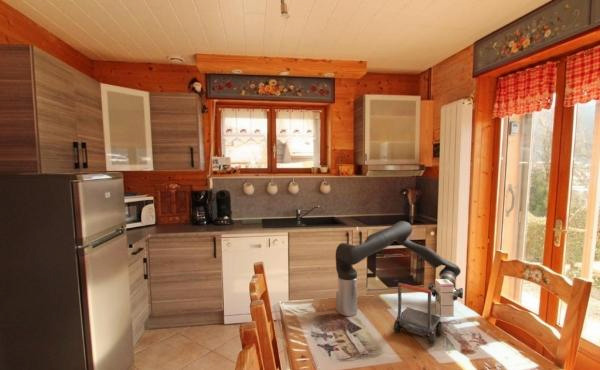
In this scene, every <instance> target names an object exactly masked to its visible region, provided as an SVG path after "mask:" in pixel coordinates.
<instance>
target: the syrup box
mask: <svg viewBox="0 0 600 370" xmlns="http://www.w3.org/2000/svg"><path fill="white" fill-rule="evenodd" d="M434 285H435V297H434V298H435V299H434V301H435V309H434V310H435V312H436V313H437V314H438V315H439V317H440V318H441V317H442V318H444V317H446V318H450V317H451V318H452V317H455V312H454V311H455V310H454V309H455V302H454V300H453V298H454V284H453V283H452V282H450V281H449V280H448V279H439V278H438V279H436V278H435V284H434Z"/></svg>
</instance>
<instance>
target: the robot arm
mask: <svg viewBox="0 0 600 370" xmlns="http://www.w3.org/2000/svg"><path fill="white" fill-rule="evenodd" d="M412 232H413V226H412V225H411V223H409V222H408V221H406V220H405V221H404V220H400V221H397V222H396V223H394V224H392V225H391V226H388V227H386V228H384V229H381V230H379V231H376V232H373V233H371V234H370V235H368V236H367V237H366V239H365V240H364V242H363V243H360V244H357V245H353V244H349V243H345V242H342V243H339V244H338V245H337V247H336V250H335V270H336V272H337V291H336V292H335V295H336V301H335V303H336V304H335V305H336V306H335V311H336V312H338V314H340V315H342V316H344V317H345V316H347V317H353V316H355V315H357V313H358V272H357V270H356V269H355V268H354V267H353V266H354V265H357V264H359V263H361V262H362V261H363V260H365V259H366V258H367V257H368V258H369V256H372V255H374V254H376V253H378V252H380V251H383V250H385V249H386V248H388V247H389V246H391V244H393V243H394V242H397V243H398V244H400V245H401V246H403V247H405V248H406V249H407V250H409V251H411V252H413V253H414V254H416V255H417V256H419V257H420V258H421V259H423V260H424V262H426V263H427V264H428V265H429V266H431V268H433V269H437V268H438V267H441V266H444V267H443V268H442V269H441V270H440V271H439V273H438V275H439V278H438V279H448V280H449V281H450V282H452V283H453V284H454V298H453V300H454V301H455V302H456V301H458V298H459V299H463V297H464V288H463V287H460V288H457V277H458V276H460V274H461V268H460V267H459V266H458V265H457V264H456V263H454V262H451V261H449V260H447V259H445V258H444V257H442V256H440V254H438V253H437V252H436V251H434V250H433V249H432V248H430V247H428V246H425V245H422V244H418V243H415V242H414V241H411V240H410V238H409V237H410V235H411V234H412ZM427 290H431V296H432V297H433V298H435V284H434V283H433V282H430V283H429V284H428V289H427Z"/></svg>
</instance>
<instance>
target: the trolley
mask: <svg viewBox="0 0 600 370" xmlns="http://www.w3.org/2000/svg"><path fill="white" fill-rule="evenodd" d="M402 288H404V289H408V290H412V291H415V292H420V293H424V294H427V312H426V311H422V310H418V309H414V308H411V307H408V306H407V307H406V308H405V309H404V310H403V311H402ZM405 325H408V326H411V327H414V328H417V329H420V330H423V331H424V333H423V332H420V331H418V330H417V331H416V330H413V329H411V328H408V327H406V326H405ZM443 329H444V322H443V321H441V316H440V315H439V316H438V315H437V314H436V315H435V314H432V292H431V290H428V289H426V288H423V287H418V286H414V285H410V284H407V283H401V282H398V283H397V316H396V319H395V321H394V323H393V332H394V333H398V334H400V332H401V330H404V331H406V332H410V333H412V334H415V335H418V336H422V337H424V338H427V342H428V345H431V346H434V345H435V343H436V339H437V335H436V334H438V335H442V334H443V331H444V330H443ZM434 330H435V331H434Z"/></svg>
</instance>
